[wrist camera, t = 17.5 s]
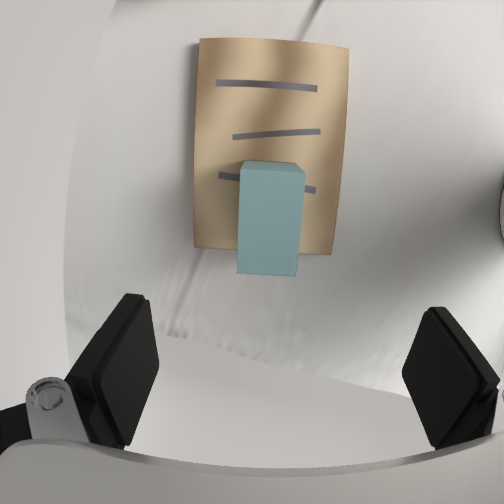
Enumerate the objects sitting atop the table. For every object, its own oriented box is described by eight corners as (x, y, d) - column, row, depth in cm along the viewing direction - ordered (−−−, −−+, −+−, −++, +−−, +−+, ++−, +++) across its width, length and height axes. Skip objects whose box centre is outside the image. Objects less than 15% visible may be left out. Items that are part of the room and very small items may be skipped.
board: (345, 52, 21) (349, 48, 20) (328, 249, 28) (331, 254, 27) (202, 42, 21) (199, 38, 20) (196, 242, 28) (194, 247, 27)
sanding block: (245, 159, 24) (240, 169, 18) (295, 162, 24) (306, 173, 18) (241, 242, 27) (236, 273, 21) (288, 244, 27) (295, 276, 21)
